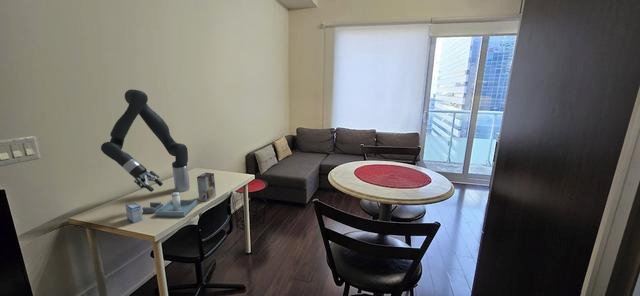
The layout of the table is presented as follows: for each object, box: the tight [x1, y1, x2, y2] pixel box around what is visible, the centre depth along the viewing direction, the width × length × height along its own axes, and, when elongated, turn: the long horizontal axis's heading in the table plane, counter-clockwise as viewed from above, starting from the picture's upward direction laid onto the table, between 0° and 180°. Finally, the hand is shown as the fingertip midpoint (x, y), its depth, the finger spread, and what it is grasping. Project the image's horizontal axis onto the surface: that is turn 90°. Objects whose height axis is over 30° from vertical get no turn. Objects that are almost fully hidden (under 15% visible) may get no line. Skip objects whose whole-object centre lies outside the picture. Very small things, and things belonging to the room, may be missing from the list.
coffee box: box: [196, 172, 217, 202], centre depth 173 cm, size 9×6×16 cm
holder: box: [141, 201, 164, 214], centre depth 158 cm, size 8×7×3 cm
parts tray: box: [154, 199, 198, 218], centre depth 158 cm, size 16×16×3 cm
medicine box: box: [125, 202, 143, 224], centre depth 146 cm, size 8×4×9 cm, turn 56°
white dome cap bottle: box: [170, 191, 181, 211], centre depth 156 cm, size 4×4×10 cm
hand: (157, 187), depth 155 cm, fingers open, 8 cm apart
